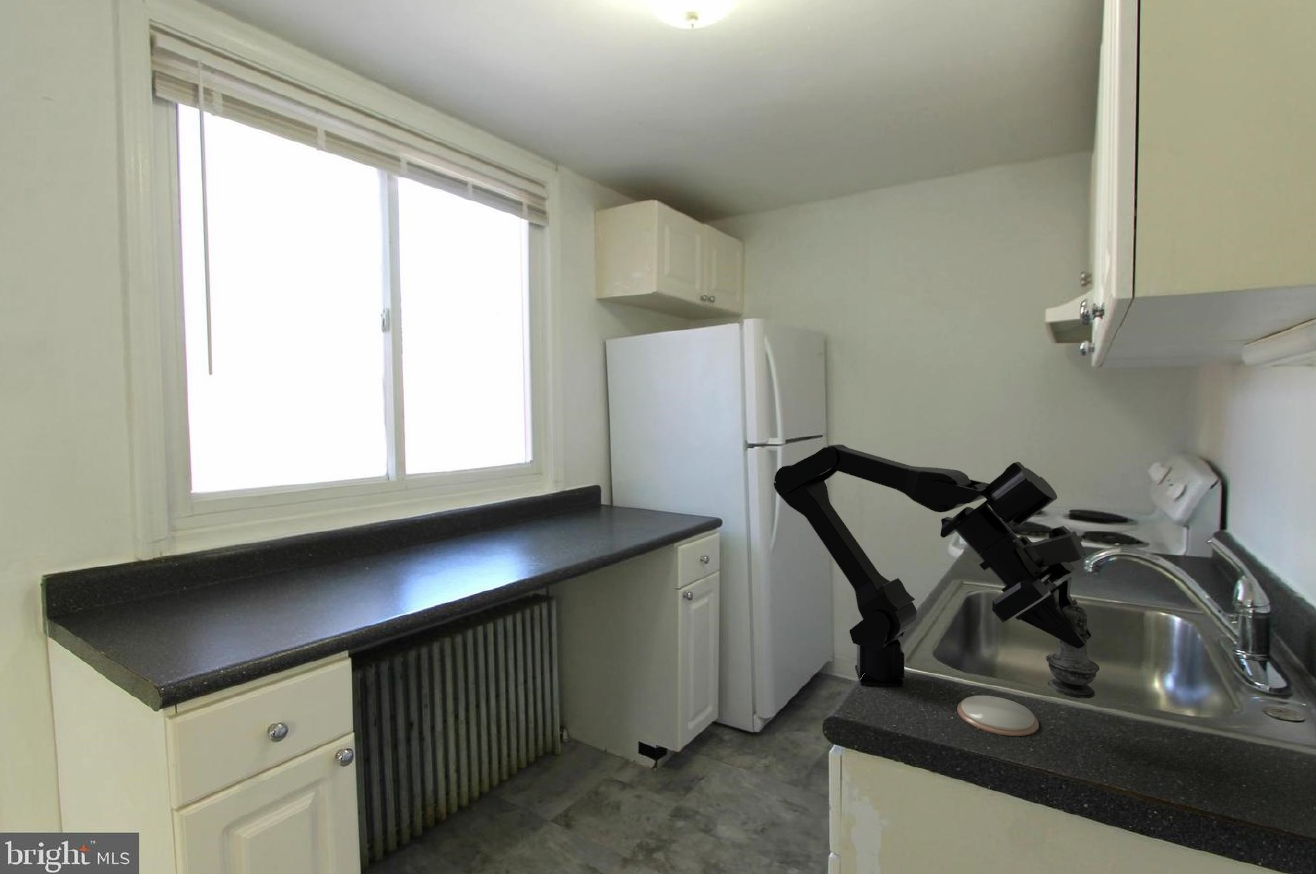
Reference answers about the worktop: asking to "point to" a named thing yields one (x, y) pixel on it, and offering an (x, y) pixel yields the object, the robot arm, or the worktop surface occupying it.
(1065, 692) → the dark chess piece
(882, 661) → the robot arm
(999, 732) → the coaster
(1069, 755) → the worktop surface
